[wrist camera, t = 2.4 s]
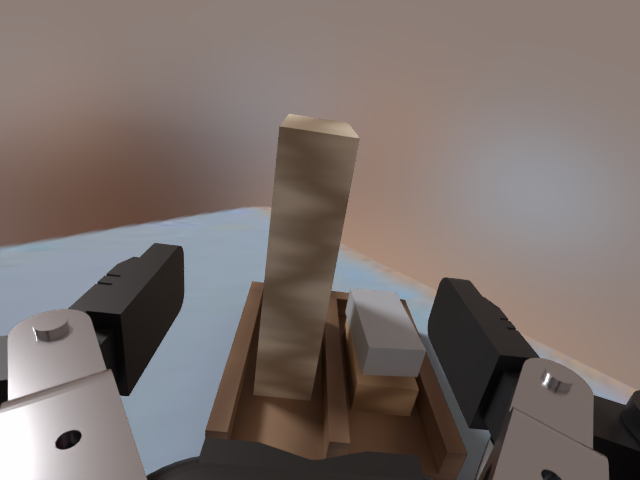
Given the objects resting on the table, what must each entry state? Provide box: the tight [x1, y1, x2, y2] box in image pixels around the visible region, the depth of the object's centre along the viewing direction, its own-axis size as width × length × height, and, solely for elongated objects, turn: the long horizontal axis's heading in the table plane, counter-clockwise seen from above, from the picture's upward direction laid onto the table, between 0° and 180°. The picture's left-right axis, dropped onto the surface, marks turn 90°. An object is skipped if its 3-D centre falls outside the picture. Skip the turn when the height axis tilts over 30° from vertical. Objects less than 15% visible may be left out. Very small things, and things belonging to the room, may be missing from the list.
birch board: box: [253, 114, 359, 401], centre depth 25 cm, size 4×7×18 cm, turn 1°
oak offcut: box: [343, 318, 419, 416], centre depth 28 cm, size 4×8×2 cm, turn 1°
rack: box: [205, 281, 467, 480], centre depth 28 cm, size 15×16×3 cm
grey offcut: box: [345, 289, 426, 377], centre depth 28 cm, size 4×7×2 cm, turn 6°
